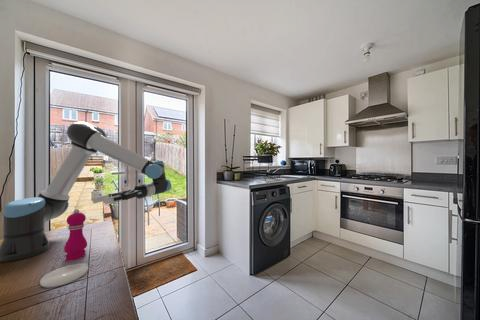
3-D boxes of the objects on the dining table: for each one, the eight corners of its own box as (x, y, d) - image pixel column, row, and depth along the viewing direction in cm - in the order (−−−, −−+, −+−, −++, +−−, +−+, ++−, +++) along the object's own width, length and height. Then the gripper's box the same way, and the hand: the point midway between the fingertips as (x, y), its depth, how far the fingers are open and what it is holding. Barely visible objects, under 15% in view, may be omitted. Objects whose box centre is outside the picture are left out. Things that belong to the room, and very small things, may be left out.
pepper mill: (67, 263, 71) (68, 212, 71) (61, 258, 75) (62, 210, 75) (89, 255, 77) (90, 208, 78) (83, 251, 81) (84, 206, 81)
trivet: (33, 281, 60) (33, 278, 60) (78, 263, 71) (78, 260, 71) (49, 292, 55) (49, 288, 55) (95, 271, 66) (95, 268, 66)
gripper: (157, 197, 94) (111, 210, 76) (134, 196, 108) (90, 207, 90) (155, 183, 94) (108, 193, 76) (132, 184, 108) (88, 192, 90)
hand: (98, 201), depth 83 cm, fingers open, 13 cm apart
